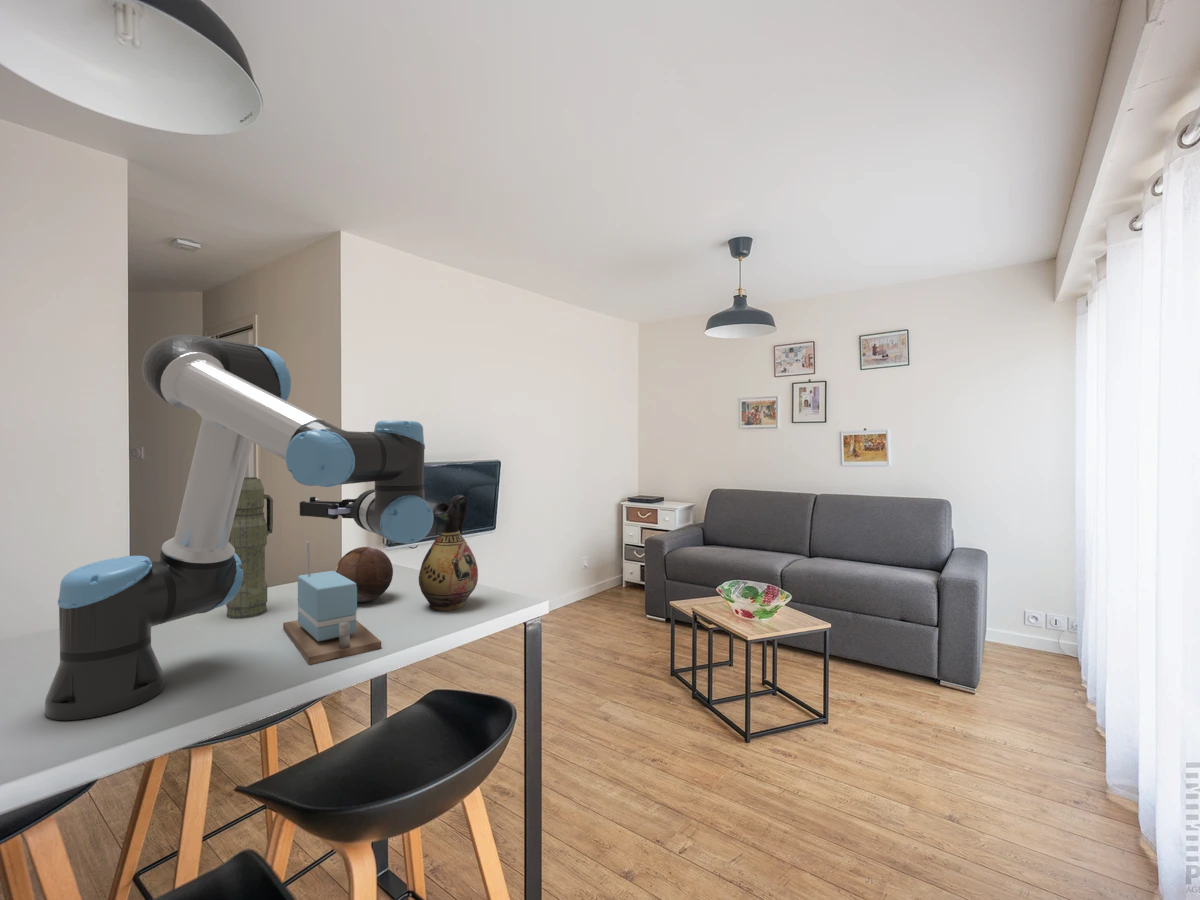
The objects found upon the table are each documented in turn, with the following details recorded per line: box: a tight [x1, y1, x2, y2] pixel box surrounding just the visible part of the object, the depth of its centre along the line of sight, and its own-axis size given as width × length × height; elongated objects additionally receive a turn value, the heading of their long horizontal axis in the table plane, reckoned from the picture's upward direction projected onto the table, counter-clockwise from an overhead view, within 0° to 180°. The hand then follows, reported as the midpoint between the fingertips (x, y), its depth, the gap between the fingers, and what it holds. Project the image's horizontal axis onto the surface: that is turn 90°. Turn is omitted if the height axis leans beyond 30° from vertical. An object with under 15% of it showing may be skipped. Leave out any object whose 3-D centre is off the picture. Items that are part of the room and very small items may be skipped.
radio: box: [297, 540, 358, 642], centre depth 124 cm, size 16×9×20 cm, turn 42°
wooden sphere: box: [334, 546, 394, 603], centre depth 153 cm, size 15×15×15 cm
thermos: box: [225, 476, 274, 620], centre depth 141 cm, size 9×12×35 cm
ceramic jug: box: [418, 494, 479, 612], centre depth 149 cm, size 17×15×30 cm
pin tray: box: [282, 619, 382, 666], centre depth 124 cm, size 14×27×6 cm, turn 39°
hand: (346, 501), depth 113 cm, fingers open, 13 cm apart
